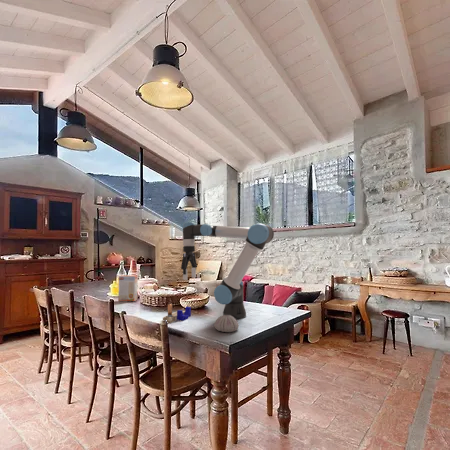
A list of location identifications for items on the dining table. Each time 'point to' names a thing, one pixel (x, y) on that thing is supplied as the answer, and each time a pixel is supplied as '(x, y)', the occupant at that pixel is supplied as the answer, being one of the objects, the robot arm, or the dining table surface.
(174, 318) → the joist batten
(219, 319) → the sea urchin shell
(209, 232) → the robot arm
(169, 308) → the awl
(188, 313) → the cable clip
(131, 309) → the dining table surface
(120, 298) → the cracker box
